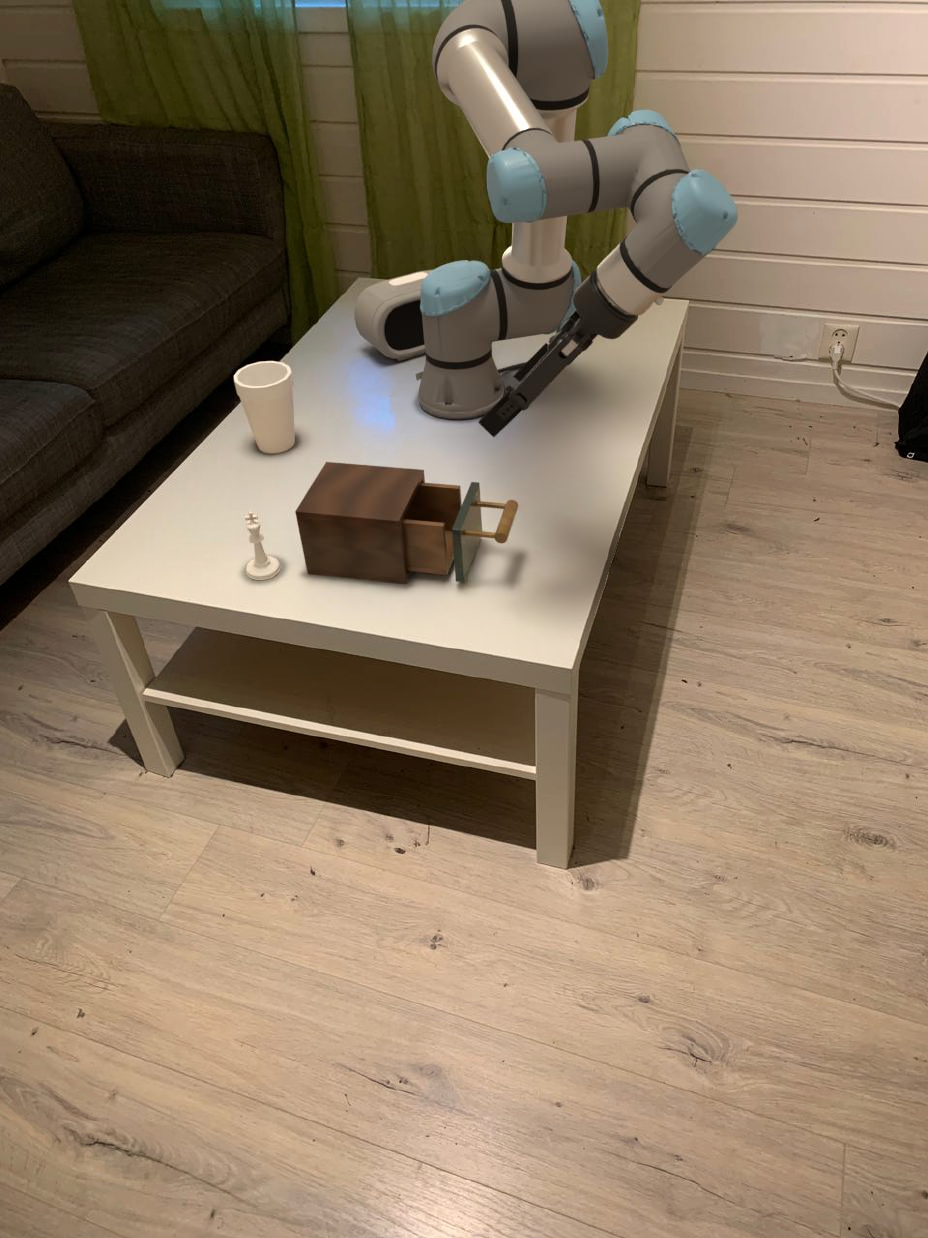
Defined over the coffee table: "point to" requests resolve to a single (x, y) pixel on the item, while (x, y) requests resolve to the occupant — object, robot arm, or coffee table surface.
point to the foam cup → (268, 403)
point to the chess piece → (259, 554)
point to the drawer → (449, 528)
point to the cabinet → (357, 521)
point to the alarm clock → (393, 316)
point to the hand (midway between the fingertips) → (504, 404)
